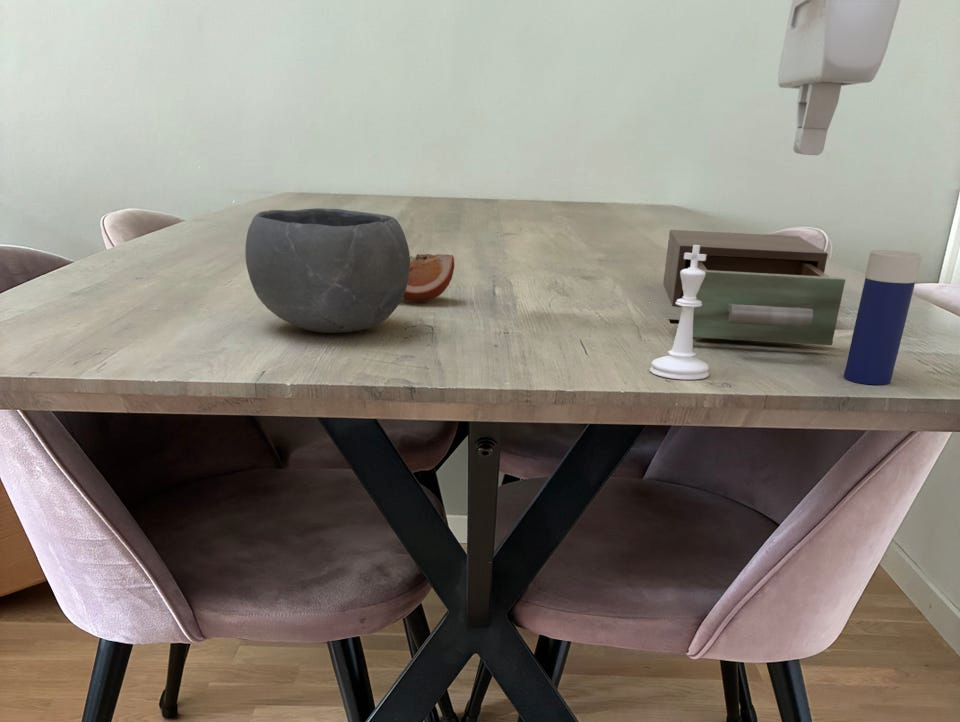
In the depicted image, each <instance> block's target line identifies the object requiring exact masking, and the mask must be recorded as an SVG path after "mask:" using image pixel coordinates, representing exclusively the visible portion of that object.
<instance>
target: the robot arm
mask: <svg viewBox="0 0 960 722" xmlns="http://www.w3.org/2000/svg"><path fill="white" fill-rule="evenodd" d="M900 4H901V0H792V1H791V5H790V10H789V14H788V19H787V23H786V29H785V35H784V38H783V39H784V40H783V44H782V50H781V54H780V61H779V65H778V73H777V84H778V87H779V88H782V89H792V90H793V89H794V90H798V95H797V100H796V125H795V126H796V130H795V135H794V140H793V146H792V149H793V152H794V153H796V154H798V155H799V154H800V155H805V156H806V155H807V156H819V155H821V154H822V153H823V152H824V150H825V144H826V141H827V140H826V139H827V135H828V130H829V128H830V125H831V122H832V120H833V117H834V115H835V112H836V110H837V107H838V104H839V100H840V95H841V89H842V87H844V86H852V85H853V86H854V85H860V84H867V83H871V82H873V80H875V78H876V76H877V74H878V72H879V70H880V67H881V65H882V64H883V61H884V58H885V56H886V53H887V50H888V47H889V43H890V39H891V36H892V33H893V29H894V27H895V22H896V18H897V14H898V11H899V7H900Z"/></svg>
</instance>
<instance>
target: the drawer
mask: <svg viewBox="0 0 960 722" xmlns="http://www.w3.org/2000/svg"><path fill="white" fill-rule="evenodd" d="M690 265H691V260H690V259H688V265H687V269H688V267H690ZM697 268H699V269H700V270H703V271H705V273H706V275H705V278H704V280H703V281H702V284H701V286H700V289H699V291H698V293H697V295H696V297H697V298H696V300H700V301H701V302H702V303H701V304H702V306H700V307H694V315H693V338H700V339H715V340H716V339H717V340H733V341H734V340H735V341H750V342H751V341H752V342H764V343H765V342H767V343H784V344H785V343H786V344H799V345H800V344H802V345H816V346H817V345H818V346H819V345H820V346H833V341H834V335H835V331H836V326H837V321H838V317H839V312H840V308H841V303H842V298H843V293H844V288H845V284H846V279H845V278H844V277H841V276H840V277H839V276H838V277H837V276H829V275H828V274H827V273H825V271H824V272H822V271H821V270H819V269H818V268H816V267H815V266H813V265H812V264H810V263H809V262H808V261H800V260H781V259H763V258H744V257H725V256H707V255H706V261H699V260H698V265H697ZM683 296H684V294H682V297H683Z"/></svg>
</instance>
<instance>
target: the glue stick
mask: <svg viewBox="0 0 960 722" xmlns="http://www.w3.org/2000/svg"><path fill="white" fill-rule="evenodd" d="M869 252H870V253H869V256H868V260H867V266H866V270H865V274H864V277H865V278H864V281H863V287H862V292H861V296H860V301H859V305H858V309H857V314H856V317H855V318H856V319H855V323H854V327H853V333H852V336H851V340H850V346H849V349H848V354H847V359H846V363H845V367H844V372H843V378H844V379H845V380H847V381H849V382H853V383H857V384H862V385H869V386H871V385H872V386H883V385H889V384H890V383H892V378H893V375H894V371H895V366H896V362H897V358H898V354H899V350H900V345H901V342H902V338H903V333H904V330H905V326H906V321H907V317H908V314H909V309H910V305H911V301H912V298H913V293H914V289H915V284H916V282H917V279H918V275H919V271H920V268H921V263H922V261H923V260H922V259H923V255H922V254H921V253H916V252H911V251H903V250H891V249H889V250H888V249H877V250H876V249H874V250H871V251H869Z"/></svg>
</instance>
